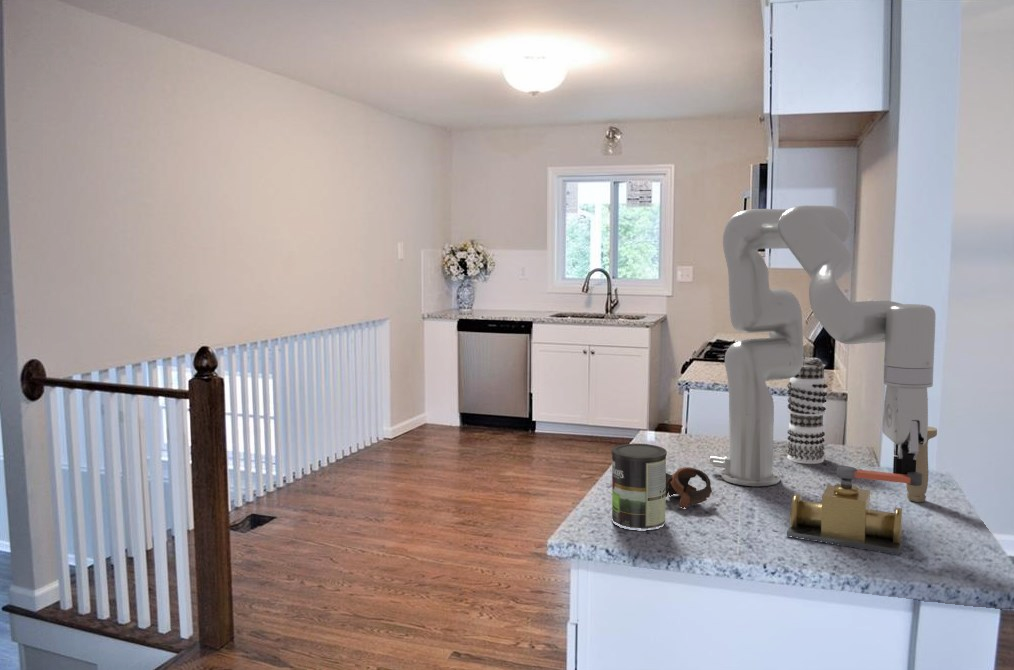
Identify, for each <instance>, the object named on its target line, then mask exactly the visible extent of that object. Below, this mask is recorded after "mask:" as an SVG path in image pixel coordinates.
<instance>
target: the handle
mask: <svg viewBox="0 0 1014 670" xmlns="http://www.w3.org/2000/svg"><path fill="white" fill-rule="evenodd" d="M937 436H938V429H937V428H936V427H935V426H928V432H927V441H926V443H925V444H924V445H920V444H919V443H918V448H919V452H918V454H917V458H916V472H919V473H921V474H922V485H920V486H914V485H909V484H907V483H905V484H906V485H905V486H906V491H907V493H906V495H907V496H906V497H907V499H908V501H910V502H914V503H925V502H926V498H927V496H926V494H927V491H928V485H929V456H928V455H929V447H928V446H929V440H930V439H933V438H935V437H937Z"/></svg>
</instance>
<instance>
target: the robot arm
mask: <svg viewBox="0 0 1014 670" xmlns="http://www.w3.org/2000/svg"><path fill="white" fill-rule="evenodd" d="M850 234H851V220H850V219H849V216H848V215H847V213H846V212H845V211H844V210H842V209H841V208H839V207H837V206H834V205H805V204H804V205H797V206H793V207H791V208H787V209H785V208H782V209H781V208H776V209H775V208H752V209H745V210H742V211H739V212H736V213H735V214H734V215H732V216H731V217H730V218H729V220H728V221H727V222H726V225H725V226H724V231H723V235H722V248H723V253H724V258H725V262H726V267H727V273H728V297H729V299H728V301H729V317H730V318H729V319H730V322H731V326H732V327H733V329H734V330H736V331H737V332H740V333H745V334H748V333H749V334H751V333H752V334H753V333H754V334H755V333H768V335H769V337H766V338H765V337H764V338H763V337H762V338H761V337H759V338H749V339H748V338H747V339H742V340H738V341H736V342H734V343H732V344H730V346H729V347H728V348H727V350H726V351H725V356H724V365H725V373H726V376H727V378H726V379H727V382H728V383H727V384H728V456H724V457H720V456H713V455H711V456H710V458H709V464H710V465H712V467H715V468H716V467H717V468H722V469H723V470H722V471H721V474H720V476H721V479H722V480H724V481H725V482H728V483H731V484H734V485H740V486H745V487H746V486H747V487H769V486H774V485H777V484H778V483H779V482H780V481H781V476H780V474H779V473H778V472H777V471H775V470H774V469H773V468H774V427H775V426H774V423H775V422H774V420H775V417H774V416H775V409H774V408H775V406H774V405H775V403H774V399H773V396H772V393H771V392H770V389H769V387H768V386H767V383H766V382H770V381H780V380H787V379H789V380H790V378H792V377H794V376H796V375H797V374H798V373H799V372H800V370H801V368H802V365H803V357H804V331H803V329H804V328H803V312H802V308H801V307H802V306H801V304H800V302H799V300H798V298H797V296H796V295H795V294H794V293H793V292H791V291H789V290H787V289H781V288H771V289H770V283H769V270H768V269H769V268H768V266H767V264H766V261H765V259H764V258H763V257H762V255H761V254H760V252H759V250H761V249H762V250H763V249H765V250H766V249H768V250H771V249H773V250H774V249H777V250H778V249H780V250H781V249H789V251H790V252H791V254H792V255H793V256H794V257H795V259H796V260H797V261H798V263H799V264H800V266H801V267H802V269H803V270H804V271H805V272H806V273H807V275H808V276H809V278H810V282H809V287H808V293H809V294H808V296H809V297H808V298H809V303H810V308H811V310H812V312H813V315H814V316H815V318H816V319H817V320H818V321H819V323H820V325H822V327H823V329H824V330H825V331H826V332H827V333H828V335H829V336H830V337H832V339H834V340H835V341H837V342H839V343H841V344H845V345H859V344H862V345H863V344H877V343H878V344H879V343H884V358H883V359H884V360H883V362H884V365H883V384H884V385H886V388H885V393H884V394H885V395H884V402H883V414H882V415H883V416H882V427H881V430H882V433H883V435H884V436H885V437H886V438H888V439H889V440H890V441H891V442H892V443H893V455H894V456H893V465H892V466H893V467H892V473H895V474H904V475H908V472H916V458H917V454H918V452H919V448H918V443H919V444H920V445H924V444H925V443H926V441H927V432H928V427H929V402H928V401H929V397H928V388H929V389H930V388H932V387H933V385H934V363H935V357H934V356H935V343H936V342H935V340H936V311H935V309H934V308H933V307H932V306H930V305H927V304H920V303H919V304H916V303H915V304H911V303H900V302H896V301H892V300H868V301H867V300H866V301H851V300H849V298H848V297H847V296H846V295H845V294H844V292H843V291H842V290H841V288H840V287H839V285H838V284H837V281H838V280H840V279H841V278H842V277H843V276H844V275H845V274H846V273H847V272H848V271H849V270H850V268H851V267H852V265H853V261H854V260H853V259H854V258H853V253H852V251H850V249H849V248H848V247H847V246H846V245H845V242H846V241H847V239H848V238H849V236H850Z"/></svg>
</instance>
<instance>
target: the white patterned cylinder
mask: <svg viewBox="0 0 1014 670" xmlns="http://www.w3.org/2000/svg"><path fill="white" fill-rule="evenodd" d="M825 367H826V364H824V363H823V361H822V359H821V358H817V357H811V356H810V357H808V356H806V357H805V356H803V365H802V368H801V370H800V372H799V373H798V374H797V375H796V376H794V377H792V378H789V382H788V383H787V384H786V386H787V388H788V389H787V392H786V393H787V395H788V396H789V397H788V398H787V402H788V404H787V409H788V411H787V412H788V413H789V415H790V416H789V423H788V428H789V429H788V430H787V434H788V436H787V440H788V442H787V445H786V447H787V451H786V453H787V454H788V455H787V458H786V459H787V460H789V461H790V462H793V463H798V464H806V465H807V464H808V465H813V464H814V465H815V464H821V463H824V462H825V458H824V456H825V451H824V450H825V449H826V448H825V444H823V443H824V442H825V438H824V437H825V435H826V434H825V432H824V415H825V414H826V410H827V408H826V407H825V406H824V405H823V404H825V403H826V402H828V401H827V399H825V397H826V396H828V393H827V392H825V391H824V389H826V388H828V385H827V384H826V381H825V380H826V378H825Z"/></svg>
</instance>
